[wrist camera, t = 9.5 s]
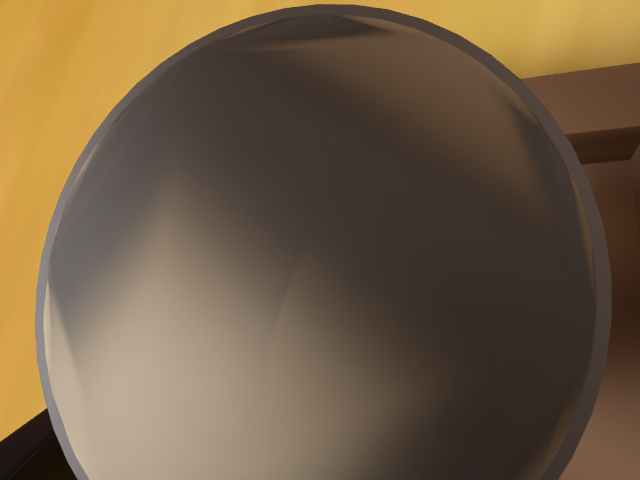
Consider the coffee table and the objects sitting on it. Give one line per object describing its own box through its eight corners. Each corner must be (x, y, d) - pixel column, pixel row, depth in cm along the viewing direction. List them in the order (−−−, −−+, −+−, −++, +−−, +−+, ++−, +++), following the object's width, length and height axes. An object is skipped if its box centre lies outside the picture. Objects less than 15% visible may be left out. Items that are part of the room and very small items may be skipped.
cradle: (730, 500, 14) (793, 542, 11) (239, 474, 18) (181, 499, 15) (679, 110, 16) (719, 51, 13) (243, 161, 20) (192, 125, 17)
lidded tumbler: (429, 469, 16) (214, 754, 5) (317, 314, 18) (-39, 249, 6) (589, 348, 15) (791, 338, 4) (456, 200, 17) (332, -101, 6)
